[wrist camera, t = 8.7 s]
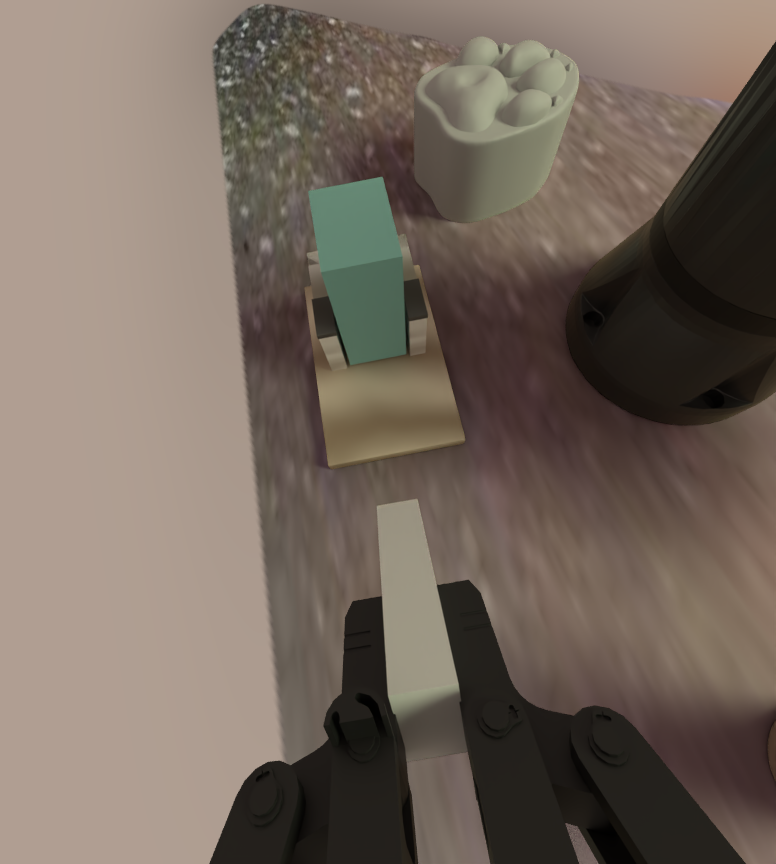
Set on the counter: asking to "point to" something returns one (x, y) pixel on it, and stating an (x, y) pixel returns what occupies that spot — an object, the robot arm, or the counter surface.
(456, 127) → the lumpy-topped squat cylinder
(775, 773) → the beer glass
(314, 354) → the guide channel
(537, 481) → the counter surface
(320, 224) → the teal block
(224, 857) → the robot arm
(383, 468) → the counter surface
